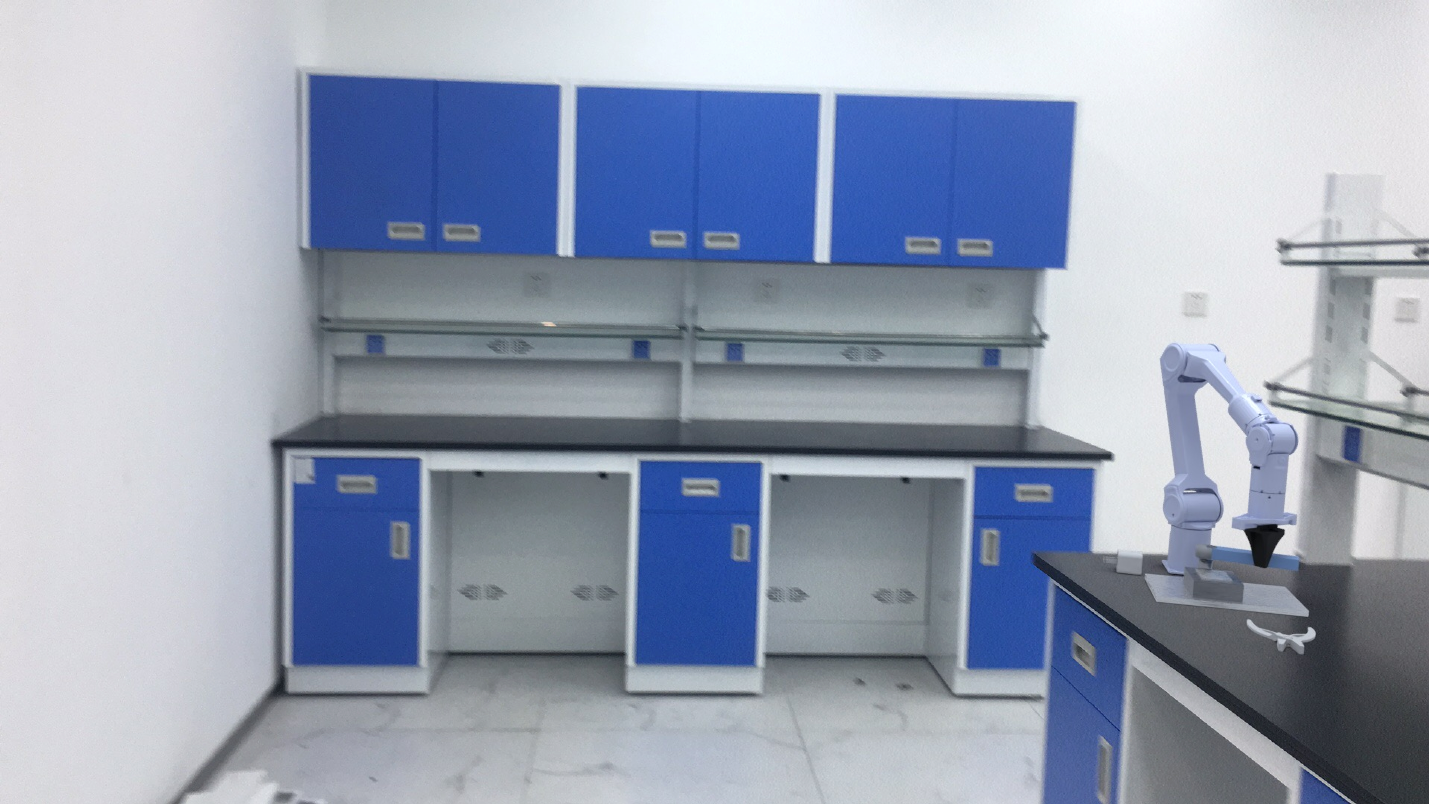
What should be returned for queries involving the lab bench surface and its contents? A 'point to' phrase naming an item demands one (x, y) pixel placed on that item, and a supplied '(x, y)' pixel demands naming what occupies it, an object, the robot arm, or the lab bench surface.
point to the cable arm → (1244, 556)
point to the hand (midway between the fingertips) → (1260, 566)
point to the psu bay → (1249, 597)
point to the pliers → (1285, 638)
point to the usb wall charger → (1127, 561)
